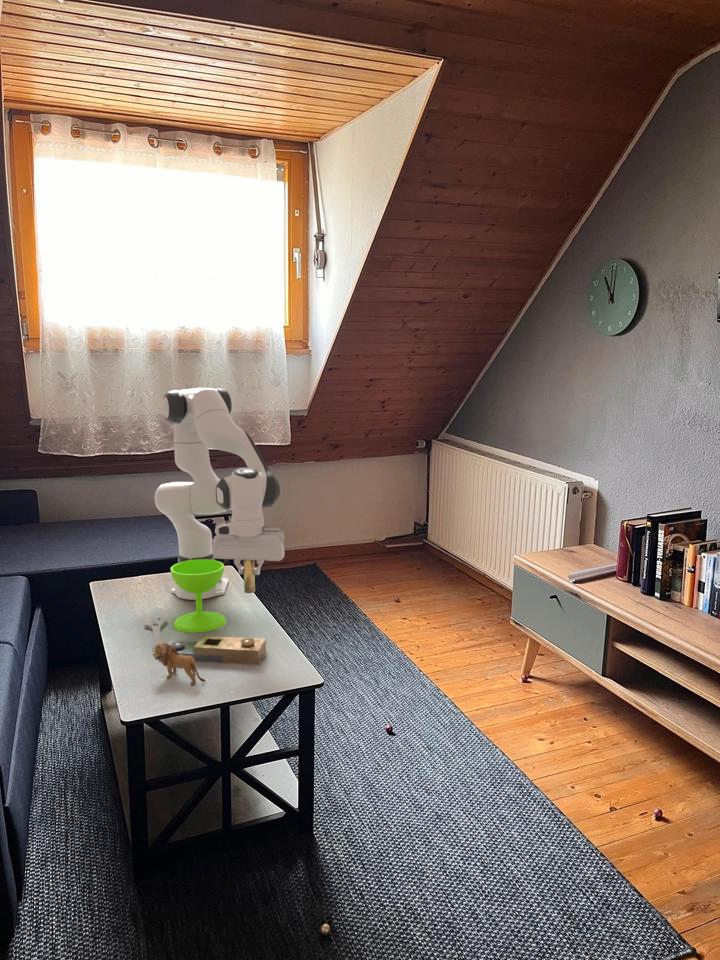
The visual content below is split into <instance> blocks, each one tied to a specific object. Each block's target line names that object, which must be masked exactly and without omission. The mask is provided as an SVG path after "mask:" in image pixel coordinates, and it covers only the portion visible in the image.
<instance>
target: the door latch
mask: <svg viewBox="0 0 720 960" xmlns="http://www.w3.org/2000/svg"><path fill="white" fill-rule="evenodd" d="M166 644H169V645H171V647H174V648H175V650H176V651H177V652H178V653H179V654H181V655H185V656H192V657H193V658H194V660H195V662H202V661H203V662H204V663H205V662H206V663H208V662H209V663H222V664H223V663H224V664H239V665H242V664H243V665H255V666H257V665H260V663H261V662H262V660H263V659H264V656H265V655H266V654H267V639H266V638H255V637H254V638H253V637H235V636H234V637H232V636H215V635H203V636H202V637H201V638H200V639H199V640H198V641H186V640H185V641H184V640H183V641H182V640H169V641H168V642H167V643H166Z"/></svg>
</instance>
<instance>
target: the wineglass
mask: <svg viewBox="0 0 720 960" xmlns="http://www.w3.org/2000/svg"><path fill="white" fill-rule="evenodd" d="M224 567H225V564H224V562H221V561H219V560H216V559H215V560H208V559H197V560H188V561H183V562H180V563H178V562H177V563H174V564H173V565H172V566H171V567H170V574H171V577H172V579H173V582H174V584H175V583H176V584H177V585H178V586H179V587H180V588H181V589H183V590H185V591H187V592H190V593H195V595H196V600H195V611H193V612H188V613H185V614H182V615H180V616H179V617H177V618H176V619H175V620H174V621H173V628H174V629H175V630H177V631H179V632H181V633H182V632H183V633H187V632H202V633H206V632H205V631H208V632H212V630H213V631H215V629H216V630H218V629H220V628H222V627H223V626H225V625H224V624H226V623H227V619H226V618H225V616H224V615H223V614H221V613H218V612H215V611H205V610H204V611H203V599H202V593H203V592H207V591H209V590H211V589H212V588H213V587H215V586H216V585H217V584H218V582H219V581H220V579H221V577H222V578H223V575H224V572H225V571H224V570H225V568H224ZM225 622H226V623H225Z"/></svg>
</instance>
